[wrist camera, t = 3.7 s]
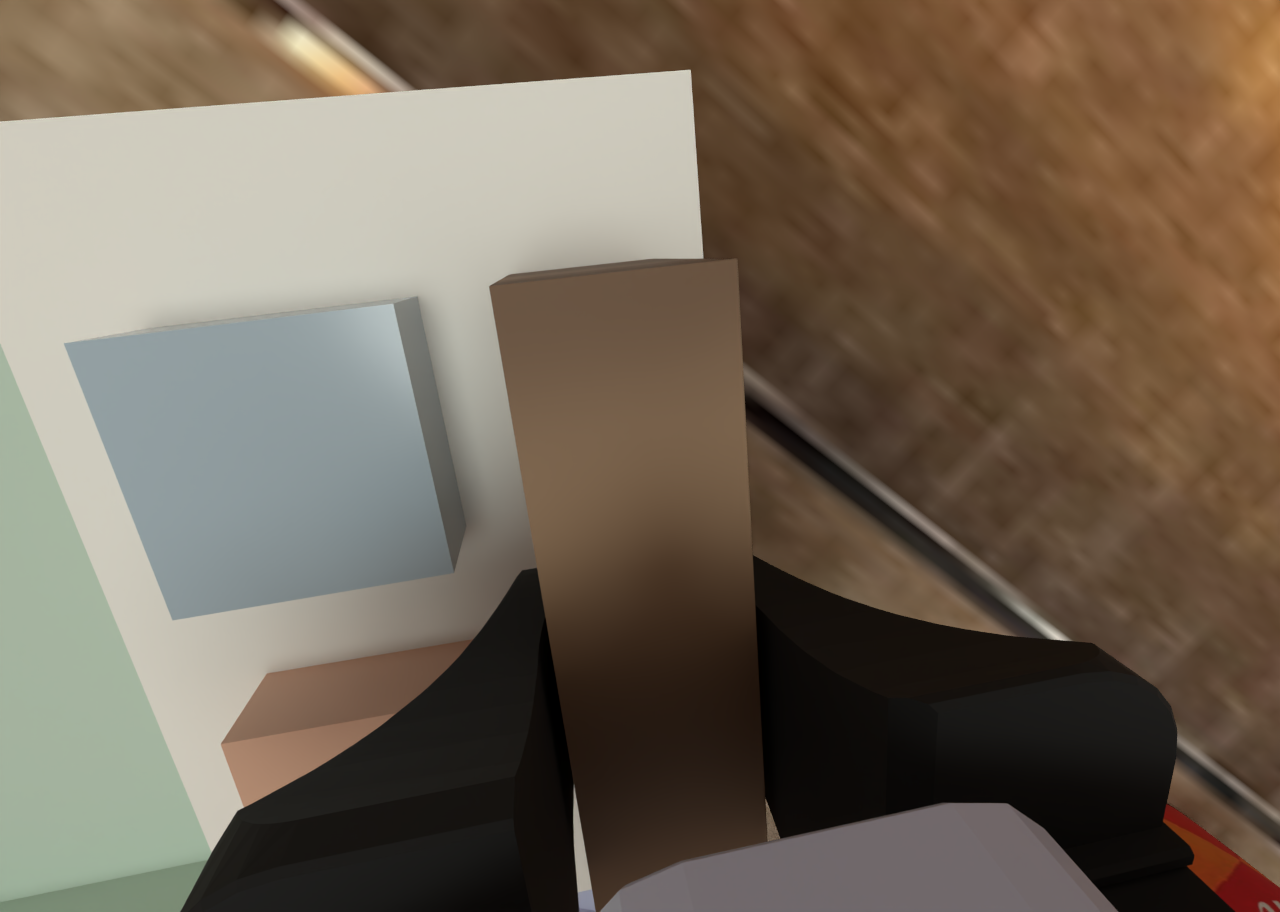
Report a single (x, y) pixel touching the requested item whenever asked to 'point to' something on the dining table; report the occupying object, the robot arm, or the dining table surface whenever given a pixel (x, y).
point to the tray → (75, 718)
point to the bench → (314, 278)
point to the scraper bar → (642, 549)
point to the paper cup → (1224, 868)
